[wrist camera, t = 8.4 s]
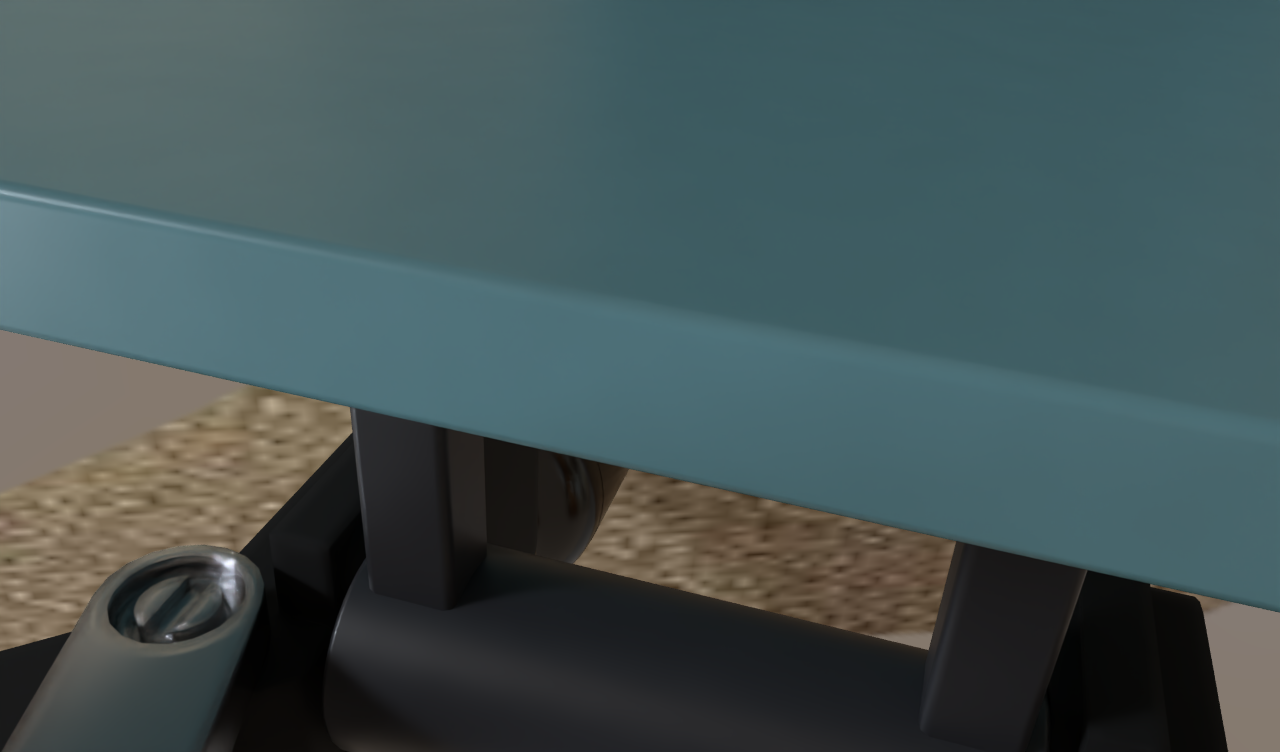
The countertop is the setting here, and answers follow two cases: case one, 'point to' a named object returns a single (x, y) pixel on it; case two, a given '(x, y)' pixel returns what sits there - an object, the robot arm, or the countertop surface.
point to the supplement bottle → (572, 502)
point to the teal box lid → (693, 318)
